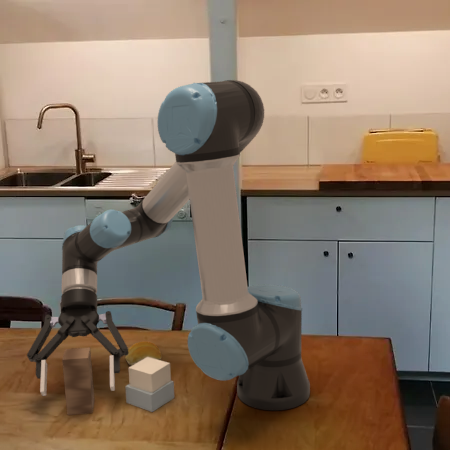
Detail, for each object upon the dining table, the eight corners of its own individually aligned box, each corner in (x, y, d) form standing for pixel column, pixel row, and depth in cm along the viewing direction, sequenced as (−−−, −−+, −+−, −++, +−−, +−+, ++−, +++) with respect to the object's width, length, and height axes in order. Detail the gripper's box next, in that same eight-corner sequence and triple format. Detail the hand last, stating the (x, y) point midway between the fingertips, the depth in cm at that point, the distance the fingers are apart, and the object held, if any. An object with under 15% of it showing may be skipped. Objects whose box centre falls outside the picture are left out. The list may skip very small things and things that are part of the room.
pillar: (94, 400, 146) (90, 347, 143) (92, 412, 141) (88, 357, 138) (70, 402, 146) (65, 349, 143) (67, 414, 141) (62, 359, 138)
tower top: (170, 380, 146) (169, 363, 145) (152, 392, 141) (151, 374, 140) (148, 374, 149) (147, 356, 148) (129, 385, 144) (128, 367, 143)
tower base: (174, 398, 146) (173, 381, 145) (152, 413, 141) (151, 395, 140) (149, 390, 150) (148, 373, 149) (126, 403, 145) (125, 386, 144)
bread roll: (158, 350, 170) (157, 335, 169) (163, 366, 161) (162, 350, 160) (123, 354, 168) (122, 338, 167) (127, 370, 160) (126, 354, 159)
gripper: (138, 298, 155) (141, 392, 145) (23, 305, 153) (17, 401, 142) (136, 283, 149) (139, 380, 138) (16, 290, 146) (10, 389, 136)
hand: (77, 391), depth 140 cm, fingers open, 13 cm apart
